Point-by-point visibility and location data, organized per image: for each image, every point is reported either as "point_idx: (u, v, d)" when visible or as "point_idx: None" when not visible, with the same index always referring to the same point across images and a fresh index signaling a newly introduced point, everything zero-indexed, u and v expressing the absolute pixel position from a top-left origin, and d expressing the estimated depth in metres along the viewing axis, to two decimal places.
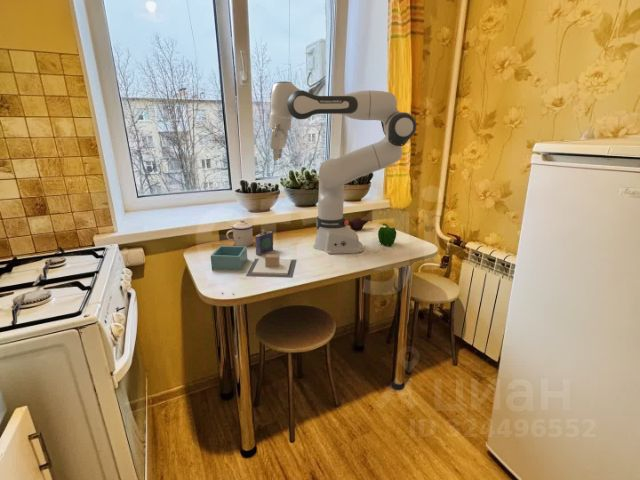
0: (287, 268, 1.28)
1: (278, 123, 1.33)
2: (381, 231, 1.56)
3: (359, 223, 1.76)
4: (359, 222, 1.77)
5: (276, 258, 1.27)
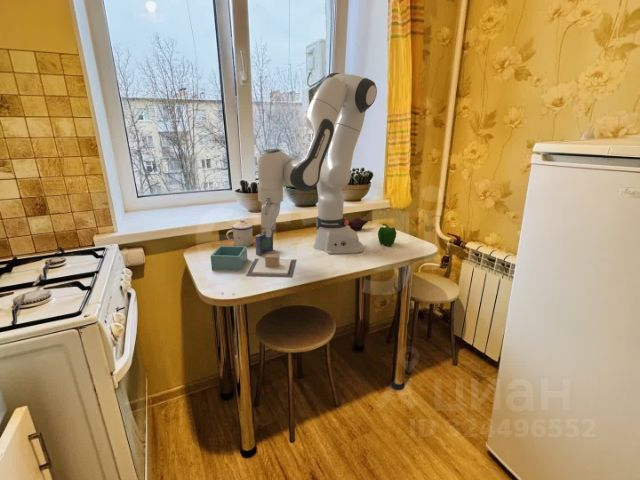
0: (287, 268, 1.28)
1: (268, 197, 1.17)
2: (381, 231, 1.56)
3: (359, 223, 1.76)
4: (359, 222, 1.76)
5: (276, 258, 1.27)
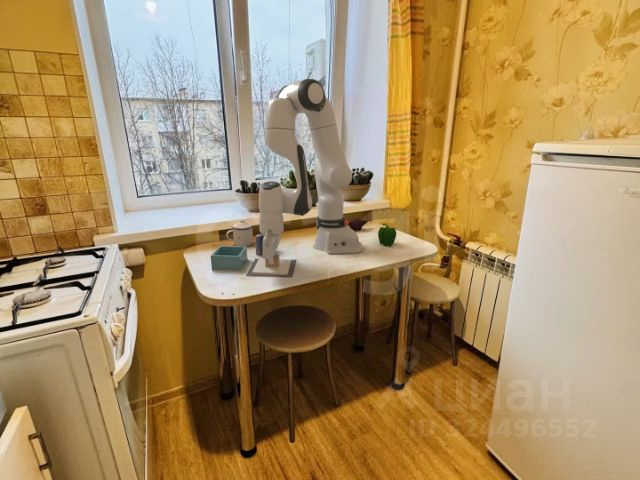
0: (287, 268, 1.28)
1: (269, 228, 1.21)
2: (381, 231, 1.56)
3: (358, 223, 1.76)
4: (358, 222, 1.76)
5: (276, 258, 1.27)
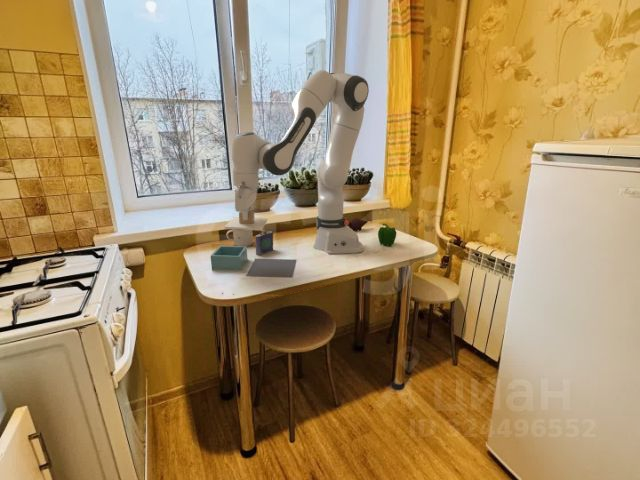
0: (262, 225, 1.23)
1: (243, 180, 1.16)
2: (381, 231, 1.56)
3: (358, 224, 1.75)
4: (358, 223, 1.75)
5: (250, 214, 1.22)
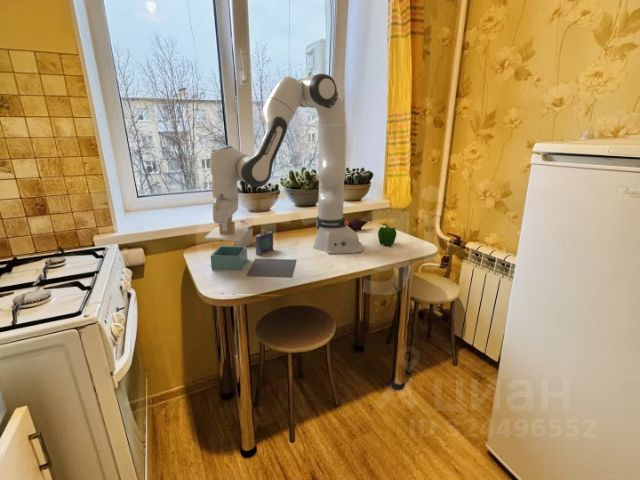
0: (241, 235, 1.26)
1: (221, 192, 1.19)
2: (381, 231, 1.56)
3: (357, 224, 1.75)
4: (357, 223, 1.75)
5: (230, 224, 1.26)
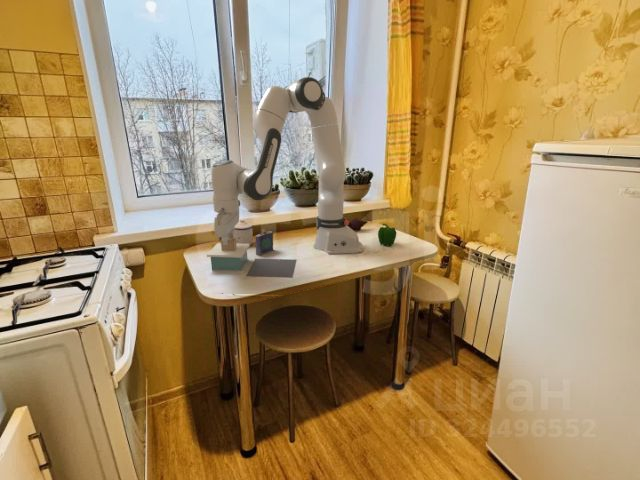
0: (243, 251, 1.28)
1: (222, 207, 1.20)
2: (381, 231, 1.56)
3: (357, 224, 1.75)
4: (357, 223, 1.75)
5: (232, 241, 1.28)
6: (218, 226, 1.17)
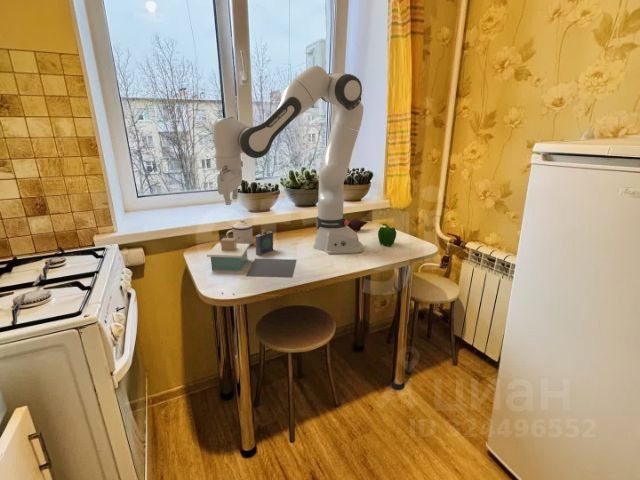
0: (243, 251, 1.28)
1: (225, 164, 1.18)
2: (381, 231, 1.56)
3: (357, 224, 1.75)
4: (357, 223, 1.75)
5: (232, 241, 1.28)
6: (221, 182, 1.15)
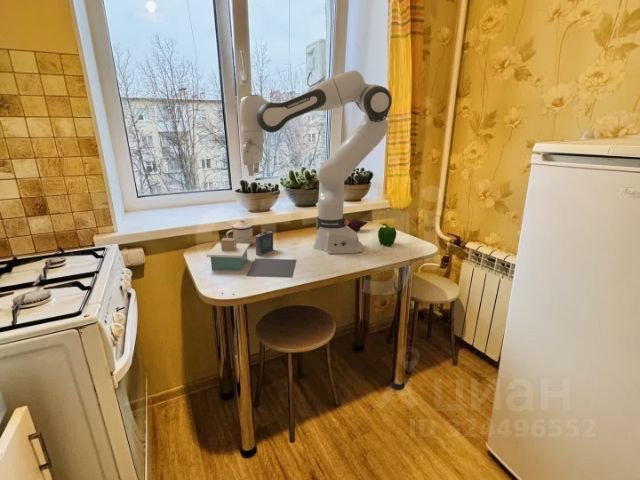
0: (243, 251, 1.28)
1: (249, 138, 1.30)
2: (381, 231, 1.56)
3: (356, 224, 1.74)
4: (356, 223, 1.74)
5: (232, 241, 1.28)
6: (246, 154, 1.26)
